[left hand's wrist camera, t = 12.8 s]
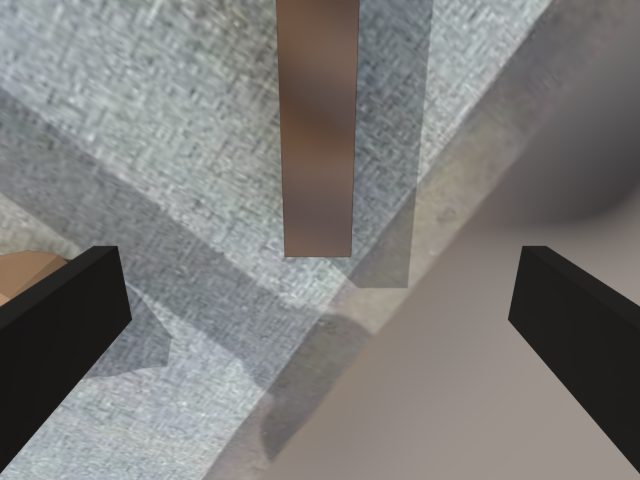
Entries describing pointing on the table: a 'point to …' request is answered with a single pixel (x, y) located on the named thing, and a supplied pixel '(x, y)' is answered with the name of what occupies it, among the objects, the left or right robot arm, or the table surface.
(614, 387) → the left robot arm
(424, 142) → the table surface
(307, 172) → the post
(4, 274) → the squash
